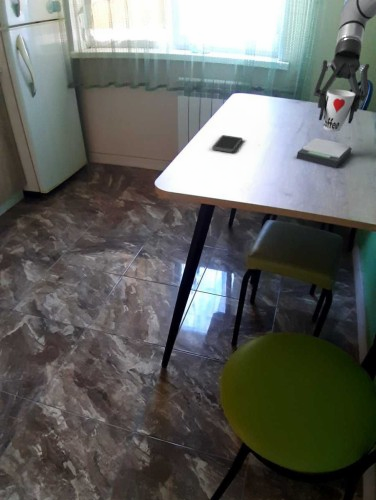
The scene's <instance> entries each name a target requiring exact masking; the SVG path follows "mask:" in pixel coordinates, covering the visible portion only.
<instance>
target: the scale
mask: <svg viewBox="0 0 376 500" xmlns="http://www.w3.org/2000/svg"><path fill="white" fill-rule="evenodd" d="M352 149H353V148H352V146H351V145H349V144H344V143H341V142H336V141H332V140H327V139H322V138H318V137H315V138H314V139H312V140H311V141H310V142H308V143H307V144H306V145H304V146H303V147H302V148H301V149H300V150H298V151H297V154H296V159H298V160H302V161H306V162H309V163H315V164H319V165H322V166H326V167H330V168H333V169H334V168H335V169H337V168H338V167H339V166H340V165H341V164H342V163H343V162H344V160H346V159H347V158H348V157H349V156H350V155H351V153H352Z"/></svg>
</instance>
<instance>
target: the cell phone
mask: <svg viewBox="0 0 376 500" xmlns="http://www.w3.org/2000/svg"><path fill="white" fill-rule="evenodd" d="M242 141H243V137H239V136H233V135H227V134H226V135H225V134H224V135H223V134H222V135H221V136H220V137H219V138H218V140H217V141H216V142H215V143H214V144H213V145H212V146H211V147H212V148H211V149H212V150H213V151H217V152H218V151H219V152H225V153H230V154H231V153H232V154H233V153H234V152H236V150H237V149H238V147H239V146H240V145H241V143H242Z"/></svg>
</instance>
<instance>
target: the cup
mask: <svg viewBox="0 0 376 500" xmlns="http://www.w3.org/2000/svg"><path fill="white" fill-rule="evenodd" d="M326 94H327V96H326V102H325V107H324V113H323V117H322V119H323V129H324V130H325V131H330V132H339V131H341V129H342V128H343V126H344V124H345V122H346V120H347V118H348V117H349V114H350V110H351V106H352V103H353V100H354V97H355V93H353V92H352V91H350V90H346V89H339V88H338V89H336V88H335V89H333V88H332V89H328V91H327V92H326Z"/></svg>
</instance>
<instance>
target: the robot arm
mask: <svg viewBox="0 0 376 500" xmlns="http://www.w3.org/2000/svg"><path fill="white" fill-rule="evenodd" d="M343 1H344V2H343V6H342V8H341V13H340V14H341V15H340V20H339V27H338V34H337V37H336V43H335V49H334V55H333V59H332V61H328V60H323V62H322V64H321V72H320V75H319V77H318V80H317V83H316V85H315V88H314V91H313V97H318V101H317V108H318V109H320V111H319V117H318V121H322V119H323V118H324V107H325V102H326V96H327V91H328V90H330V88H331V87H332V85H333V83H334V82H335V81H336V80H337V79H345V80H347V82H348V83H349V86H350V89H351V92H353V93H355V97H354V100H353V103H352V106H351V109H350V111H349V114H348V122H347V124H352V121H353V119H354V115H355V113H357V112H358V110H359V108H360V102H364V101H365V100H366V99H367V96H368V92H369V90H368V71H369V69H370V64H369V63H366V64H365V65H364V64H361V62H360V58H361V52H362V48H363V47H362V46H363V41H364V35H365V31H366V24H367V22H369V21H370V20H371V19H373V18H374V17H375V16H376V0H343ZM330 68H331V70H332V73H331V75H330V77H329V78H328V80H327V81H326V83H325V84H324V86H323V87H322V89H321V86H322V84H323V81H324V79H325V76H326V73H327V72H328V71H329V69H330ZM358 71H359V74H360V86H359V83H358V80H357V74H356V73H357V72H358Z"/></svg>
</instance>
